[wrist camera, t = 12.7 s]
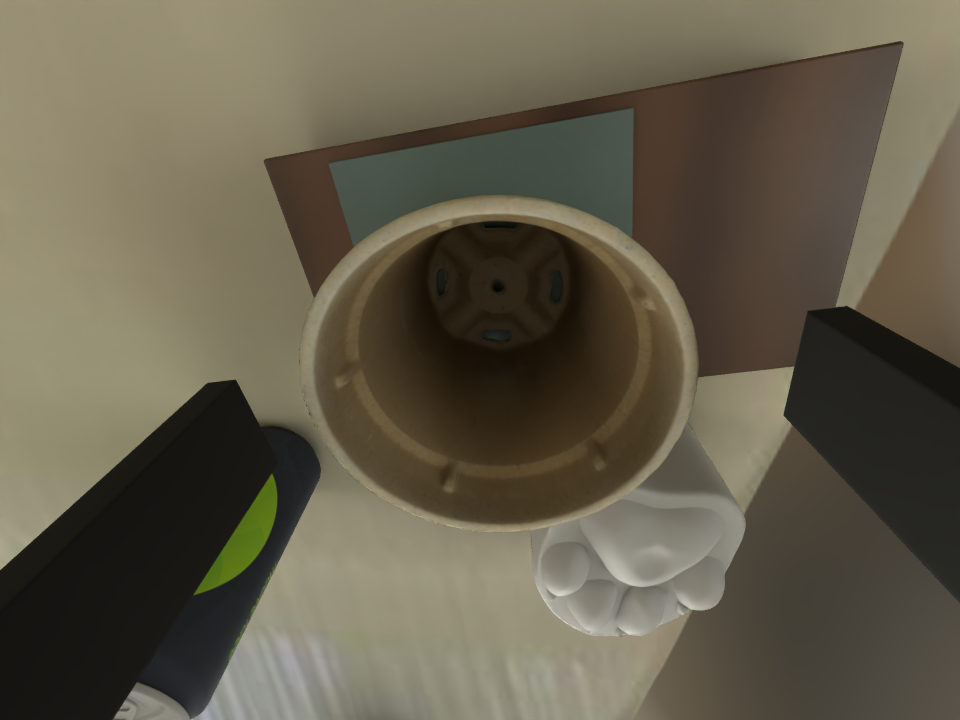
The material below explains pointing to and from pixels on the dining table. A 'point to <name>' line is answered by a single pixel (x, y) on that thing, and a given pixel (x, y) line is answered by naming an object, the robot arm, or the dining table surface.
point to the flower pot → (499, 364)
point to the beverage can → (227, 592)
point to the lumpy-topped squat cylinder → (643, 550)
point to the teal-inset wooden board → (647, 188)
